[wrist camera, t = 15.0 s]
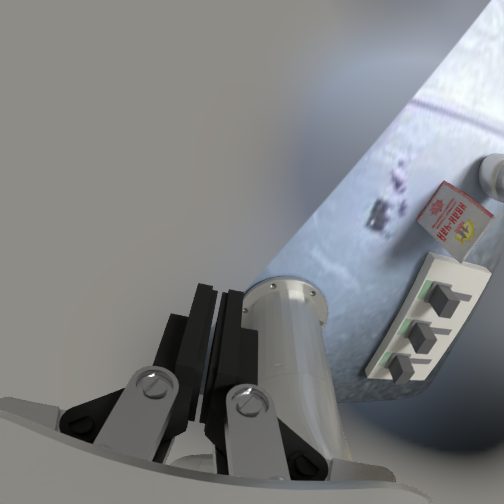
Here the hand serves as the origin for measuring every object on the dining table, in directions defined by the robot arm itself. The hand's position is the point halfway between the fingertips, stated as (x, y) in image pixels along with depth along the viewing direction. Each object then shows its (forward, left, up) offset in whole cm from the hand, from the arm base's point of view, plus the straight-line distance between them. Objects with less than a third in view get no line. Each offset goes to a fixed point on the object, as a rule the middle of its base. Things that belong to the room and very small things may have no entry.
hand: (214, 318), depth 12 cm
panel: (+2, -38, -27) cm, 47 cm away
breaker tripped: (+7, -32, -25) cm, 41 cm away
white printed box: (+14, -22, -27) cm, 38 cm away
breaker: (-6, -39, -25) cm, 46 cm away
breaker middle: (+1, -35, -25) cm, 43 cm away
